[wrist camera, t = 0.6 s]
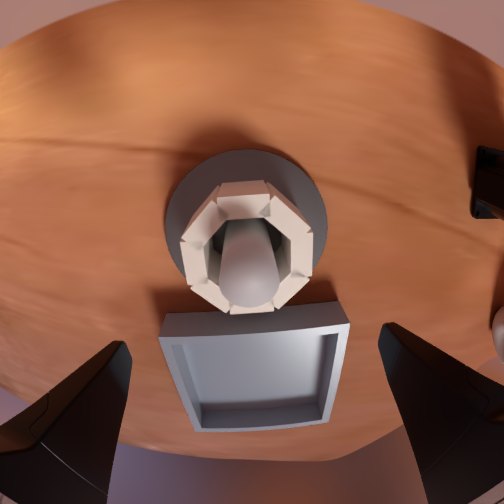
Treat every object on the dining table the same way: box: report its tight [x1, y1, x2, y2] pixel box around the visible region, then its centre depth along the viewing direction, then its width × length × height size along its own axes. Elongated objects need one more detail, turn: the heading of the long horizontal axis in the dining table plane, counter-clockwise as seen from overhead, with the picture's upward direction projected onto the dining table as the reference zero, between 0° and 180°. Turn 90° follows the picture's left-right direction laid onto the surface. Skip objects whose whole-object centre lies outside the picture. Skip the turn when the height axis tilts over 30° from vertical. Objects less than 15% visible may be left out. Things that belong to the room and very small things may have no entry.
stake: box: [165, 149, 328, 308], centre depth 16 cm, size 11×11×7 cm
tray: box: [158, 301, 350, 432], centre depth 24 cm, size 14×14×3 cm
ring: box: [180, 180, 313, 314], centre depth 17 cm, size 7×9×4 cm
